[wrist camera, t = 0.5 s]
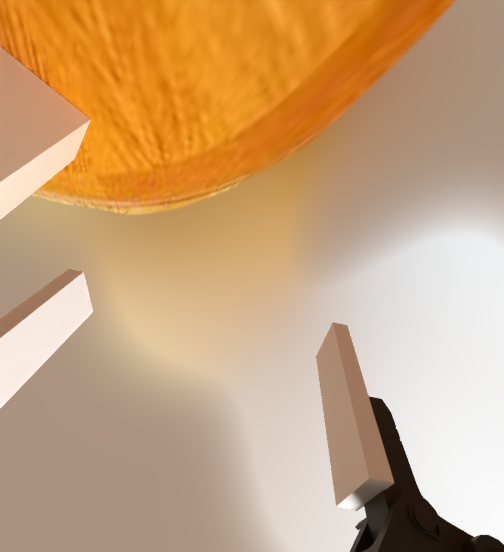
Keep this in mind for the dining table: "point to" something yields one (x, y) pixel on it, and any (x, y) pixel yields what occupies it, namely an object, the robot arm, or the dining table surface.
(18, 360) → the robot arm
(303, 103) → the dining table surface
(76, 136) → the tall stand
